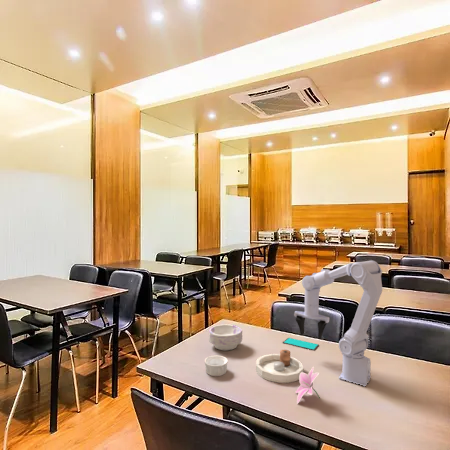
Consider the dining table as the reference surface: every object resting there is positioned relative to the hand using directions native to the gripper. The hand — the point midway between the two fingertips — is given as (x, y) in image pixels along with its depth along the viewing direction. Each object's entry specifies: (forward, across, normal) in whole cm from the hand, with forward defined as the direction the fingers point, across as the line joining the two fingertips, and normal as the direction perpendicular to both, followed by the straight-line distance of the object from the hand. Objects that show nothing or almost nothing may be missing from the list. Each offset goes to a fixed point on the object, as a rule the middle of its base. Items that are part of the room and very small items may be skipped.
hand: (311, 336), depth 134 cm
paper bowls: (+10, +36, +12) cm, 39 cm away
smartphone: (+10, +9, -12) cm, 18 cm away
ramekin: (+10, +25, +33) cm, 42 cm away
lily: (+10, -10, +29) cm, 32 cm away
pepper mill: (+8, +5, +13) cm, 17 cm away
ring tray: (+9, +6, +18) cm, 21 cm away
